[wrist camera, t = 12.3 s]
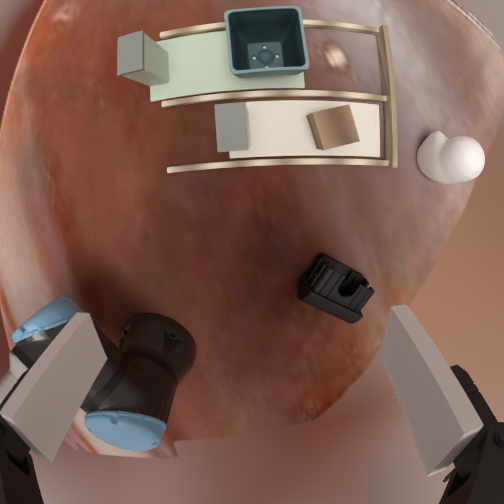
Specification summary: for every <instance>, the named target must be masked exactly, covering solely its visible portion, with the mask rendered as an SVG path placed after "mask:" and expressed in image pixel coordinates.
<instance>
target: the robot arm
mask: <svg viewBox="0 0 504 504" xmlns="http://www.w3.org/2000/svg"><path fill="white" fill-rule="evenodd" d="M12 339H13V342H14V343H15V344H16V346H15V347H14V348H13V349H12V350H11V351H10V353H9V357H10V369H9V371H8V372H7V373H6V374H5V376H4V377H3V378H2V380H1V381H0V504H44V503H43V500H42V496H41V492H40V489H39V485H38V482H37V477H36V473H35V469H34V464H33V460H32V457H31V455H30V454H29V451H30V449H31V450H33V452H34V453H35V454H36V455H37V456H38V457H40V458H42V459H45V460H47V461H49V462H51V463H52V462H53V460H54V457H55V455H56V453H57V451H58V449H59V447H60V445H61V443H62V441H63V439H64V437H65V435H66V433H67V431H68V429H69V427H70V425H71V423H72V421H73V419H74V418H75V416H76V414H77V412H78V410H79V408H81V409H82V410H84V411H85V412H86V413H87V414H86V415H85V426H86V427H87V428H88V430H89V431H90V432H91V433H92V434H93V435H94V436H96V437H97V438H99V439H101V440H102V441H104V442H106V443H108V444H111V445H113V446H116V447H119V448H123V449H127V450H133V451H146V450H151V449H153V448H155V447H156V446H158V445H159V443H160V441H161V438H162V436H163V433H164V431H165V430H166V428H167V427H166V426H167V425H166V424H167V420H168V416H169V413H170V409H171V406H172V402H173V399H174V395H175V392H176V388H177V385H178V384H179V382H180V381H181V380H182V379H183V378H184V377H185V375H186V374H187V373H188V372H189V371H190V370H191V368H192V366H193V364H194V360H195V356H196V347H195V343H194V341H193V339H192V337H191V336H190V334H189V333H188V332H187V331H186V330H185V329H184V328H183V327H182V326H181V325H180V324H178V323H177V322H175V321H173V320H171V319H169V318H167V317H164V316H161V315H157V314H141V315H138V316H135V317H133V318H132V319H130V320H129V321H128V323H127V324H126V326H125V327H124V329H123V331H122V333H121V337H120V345H119V348H118V347H117V346H116V345H115V344H114V343H113V342H112V341H111V340H110V339H109V338H108V337H107V336H106V335H105V334H104V333H103V332H102V331H101V330H100V329H99V328H98V327H97V326H96V324H95V323H94V322H93V321H92V319H91V316H90V314H89V313H85V312H84V311H83V310H82V309H81V308H80V307H79V306H78V305H77V304H76V303H75V302H74V301H73V300H72V299H71V298H69V297H66V296H62V297H59V298H57V299H55V300H54V301H52V302H50V303H49V304H48V305H46V306H45V307H43V308H42V309H41V310H39V311H38V312H37V313H35V314H34V315H33V316H32V317H30V318H29V319H28V320H27V321H26V322H25V323H24V324H22V325H21V326H20V327H19V328H18V329H16V330H15V331H14V333H13V334H12ZM379 356H380V359H381V361H382V363H383V366H384V368H385V370H386V372H387V374H388V377H389V379H390V382H391V384H392V386H393V389H394V391H395V393H396V396H397V398H398V400H399V403H400V405H401V408H402V410H403V413H404V415H405V418H406V420H407V423H408V425H409V428H410V430H411V433H412V435H413V438H414V441H415V444H416V447H417V449H418V452H419V455H420V458H421V460H422V463H423V466H424V469H425V472H426V475H427V476H430V475H433V474H435V473H437V472H440V471H443V470H445V469H446V468H447V467H448V466H449V465H450V464H451V463H452V462H453V463H454V465H455V468H454V469H453V470H452V471H451V472H450V473H449V474H448V475H447V476H446V477H445V479H444V480H443V482H446V481H447V480H448V479H449V478H450V479H449V482H448V484H447V487H446V489H445V491H444V494H443V496H442V498H441V500H440V502H439V504H504V422H498V421H497V420H496V418H495V416H494V415H493V413H492V411H491V410H490V408H489V406H488V405H487V403H486V401H485V400H484V398H483V396H482V395H481V393H480V392H478V391H479V390H478V388H477V387H476V385H475V384H473V383H474V382H473V381H472V379H471V378H470V376H469V374H468V373H467V372H466V371H465V370H463V369H462V368H461V367H459V366H458V365H455V366H451V367H449V366H448V364H447V363H446V361H445V359H444V358H443V356H442V355H441V354H440V352H439V350H438V349H437V347H436V346H435V344H434V343H433V341H432V340H431V338H430V337H429V336H428V334H427V333H426V331H425V330H424V328H423V327H422V326H421V324H420V323H419V321H418V320H417V319H416V317H415V316H414V314H413V313H412V312H411V310H410V309H409V308H408V306H407V305H398V306H391V308H390V312H389V317H388V322H387V326H386V330H385V335H384V339H383V343H382V347H381V350H380V354H379Z"/></svg>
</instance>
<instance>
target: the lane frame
mask: <svg viewBox="0 0 504 504" xmlns="http://www.w3.org/2000/svg"><path fill="white" fill-rule="evenodd" d="M303 26H304V28H319V29H332V30H342V31H351V32H359V33H366V34H372V35H376V38H377V45H378V52H379V61H380V70H381V81H382V94H383V95H375V94H365V93H354V92H341V91H321V90H267V91H247V92H233V93H221V94H212V95H203V96H195V97H188V98H181V99H174V100H168V101H163V102H162V107H164V108H167V107H173V106H180V105H187V104H194V103H202V102H211V101H221V100H232V99H246V98H266V97H325V98H344V99H358V100H369V101H379V102H383V110H384V160H381V159H357V158H278V159H254V160H237V161H222V162H210V163H199V164H189V165H179V166H171V167H167V173H173V172H182V171H192V170H203V169H215V168H228V167H244V166H264V165H296V164H348V165H379V166H390V167H397V109H396V92H395V80H394V70H393V61H392V53H391V46H390V39H389V32H388V26H385V25H382V26H381V27H380V28H376V27H370V26H364V25H357V24H349V23H341V22H331V21H318V20H303ZM222 30H226V27H225V22H222V23H213V24H206V25H199V26H192V27H186V28H181V29H175V30H170V31H166V32H161V33H160V38H161V39H163V40H165V39H170V38H175V37H181V36H186V35H192V34H199V33H206V32H214V31H222Z"/></svg>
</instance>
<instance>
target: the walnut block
mask: <svg viewBox="0 0 504 504" xmlns="http://www.w3.org/2000/svg"><path fill="white" fill-rule="evenodd" d="M306 117H307V120H308V123H309V126H310V129H311V132H312V136H313V139H314V142H315V145H316V149H320V150H327V149H331V148H335V147H339V146H343V145H347V144H351V143H355V142H360V140H359V136H358V132H357V129H356V125H355V122H354V119H353V115H352V112H351V109H350V106H349V104H348V105H343V106H339V107H334V108H330V109H325V110H321V111H317V112H313V113H310V114H308V115H306Z"/></svg>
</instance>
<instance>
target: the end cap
mask: <svg viewBox="0 0 504 504" xmlns="http://www.w3.org/2000/svg"><path fill="white" fill-rule="evenodd" d="M368 285H369V282H368V281H367V280H366V279H365V278H364V277H363V275H362V274H361V273H359V272H357V271H355V270H353V269H352V268H350V267H348V266H346V265H344V264H343V263H341V262H339V261H337V260H335V259H333V258H332V257H330V256H328V255H326V254H324V253H319V254H318V256H317V257H316V259H315V261H314V262H313V264H312V265H311V267H310V268H309V270H308V271H307V273H305V274H304V276H303V277H302V279H301V282H300V284H299V288H298V299H299V300H300V301H302V302H305V303H307V304H309V305H311V306H313V307H315V308H317V309H320V310H322V311H324V312H326V313H328V314H331V315H333V316H335V317H337V318H339V319H341V320H344V321H346V322H348V323H355V322H357V321H359V320H360V319H361V318H362V317H363V315H362V313H361V311H360V310H361V309H362V308H363V306H364V305H365V304H366V302H367V301H368V300H369V298H370V297H371V296H372V294H373V293H374V290H373V288H372V287H369V288H367V286H368Z"/></svg>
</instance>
